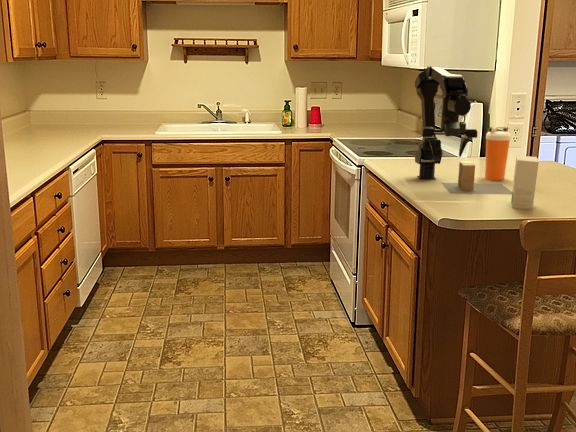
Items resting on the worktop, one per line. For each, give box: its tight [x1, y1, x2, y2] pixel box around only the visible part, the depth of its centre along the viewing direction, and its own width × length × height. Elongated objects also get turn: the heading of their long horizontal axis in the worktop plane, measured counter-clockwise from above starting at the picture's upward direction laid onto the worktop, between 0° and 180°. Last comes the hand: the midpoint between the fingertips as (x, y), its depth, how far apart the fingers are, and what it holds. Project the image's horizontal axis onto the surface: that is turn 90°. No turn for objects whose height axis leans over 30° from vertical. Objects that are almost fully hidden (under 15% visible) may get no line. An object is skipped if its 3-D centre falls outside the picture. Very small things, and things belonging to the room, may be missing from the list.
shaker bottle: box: [484, 126, 512, 181], centre depth 245 cm, size 9×9×20 cm
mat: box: [441, 182, 512, 195], centre depth 230 cm, size 18×22×1 cm
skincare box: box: [510, 155, 539, 211], centre depth 204 cm, size 8×7×16 cm
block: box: [457, 160, 476, 190], centre depth 229 cm, size 7×4×9 cm, turn 177°
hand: (446, 156), depth 227 cm, fingers open, 9 cm apart
